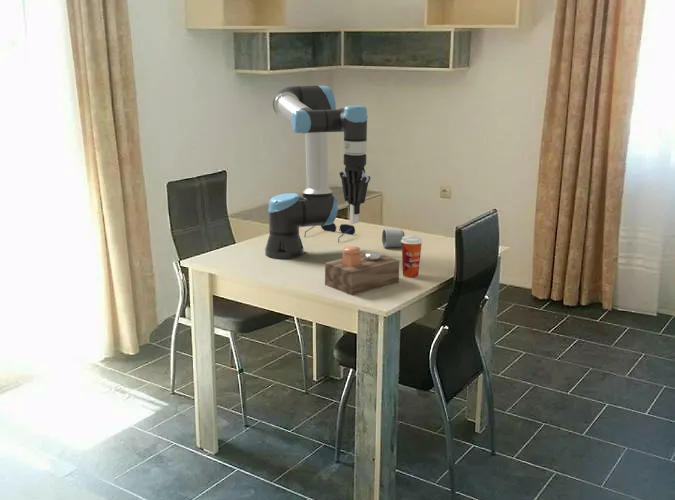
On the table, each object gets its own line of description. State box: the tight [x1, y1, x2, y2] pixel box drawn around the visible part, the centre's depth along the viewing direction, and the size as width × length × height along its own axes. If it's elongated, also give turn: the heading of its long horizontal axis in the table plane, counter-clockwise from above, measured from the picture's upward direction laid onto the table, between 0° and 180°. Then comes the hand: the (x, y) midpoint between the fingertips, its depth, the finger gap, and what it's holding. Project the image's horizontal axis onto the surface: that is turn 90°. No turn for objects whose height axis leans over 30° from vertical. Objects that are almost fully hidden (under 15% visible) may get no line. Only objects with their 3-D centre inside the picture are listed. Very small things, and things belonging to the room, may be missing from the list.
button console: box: [324, 252, 400, 296], centre depth 268 cm, size 14×22×8 cm, turn 130°
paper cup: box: [401, 235, 423, 279], centre depth 277 cm, size 8×8×14 cm
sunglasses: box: [303, 222, 356, 244], centre depth 331 cm, size 17×15×5 cm
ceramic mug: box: [381, 228, 406, 249], centre depth 316 cm, size 11×8×8 cm
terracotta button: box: [342, 245, 362, 267], centre depth 264 cm, size 6×6×8 cm
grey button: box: [364, 251, 382, 262], centre depth 271 cm, size 6×6×8 cm
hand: (354, 222), depth 261 cm, fingers closed
